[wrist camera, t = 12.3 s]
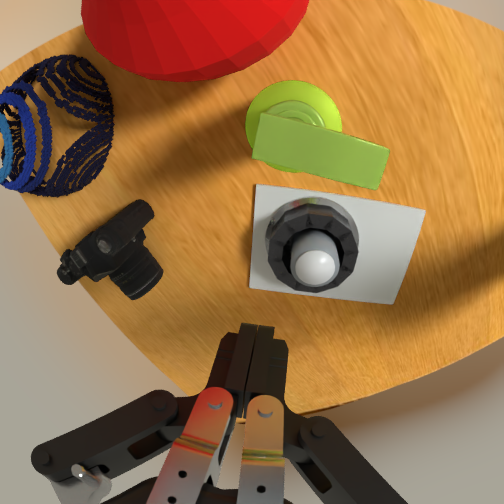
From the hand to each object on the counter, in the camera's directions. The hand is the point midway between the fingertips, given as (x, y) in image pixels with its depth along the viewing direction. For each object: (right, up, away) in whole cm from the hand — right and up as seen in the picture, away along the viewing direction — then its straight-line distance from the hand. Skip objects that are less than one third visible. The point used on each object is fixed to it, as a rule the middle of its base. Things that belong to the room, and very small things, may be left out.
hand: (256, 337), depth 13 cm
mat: (+10, +4, +22) cm, 24 cm away
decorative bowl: (-27, +21, +18) cm, 39 cm away
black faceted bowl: (+7, +5, +21) cm, 23 cm away
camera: (-17, +5, +26) cm, 32 cm away
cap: (+7, +5, +21) cm, 22 cm away
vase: (-3, +29, +9) cm, 31 cm away
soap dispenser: (+5, +18, +15) cm, 24 cm away
